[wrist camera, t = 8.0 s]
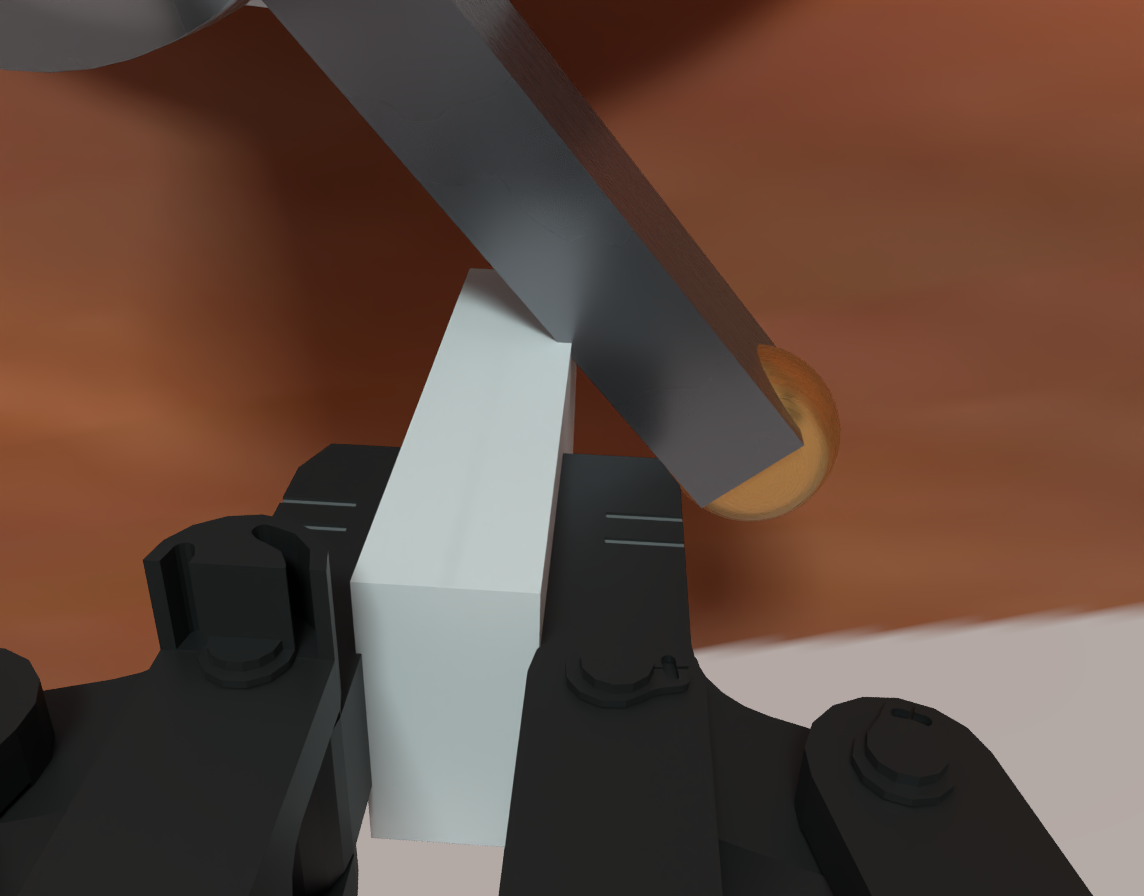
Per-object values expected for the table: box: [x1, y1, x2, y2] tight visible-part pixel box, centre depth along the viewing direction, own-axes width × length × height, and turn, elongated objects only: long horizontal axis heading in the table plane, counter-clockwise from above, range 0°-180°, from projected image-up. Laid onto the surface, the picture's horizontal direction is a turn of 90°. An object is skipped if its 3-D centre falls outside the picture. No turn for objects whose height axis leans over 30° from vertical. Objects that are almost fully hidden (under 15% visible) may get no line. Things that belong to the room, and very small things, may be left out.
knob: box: [0, 0, 840, 522], centre depth 11 cm, size 13×5×6 cm, turn 39°
